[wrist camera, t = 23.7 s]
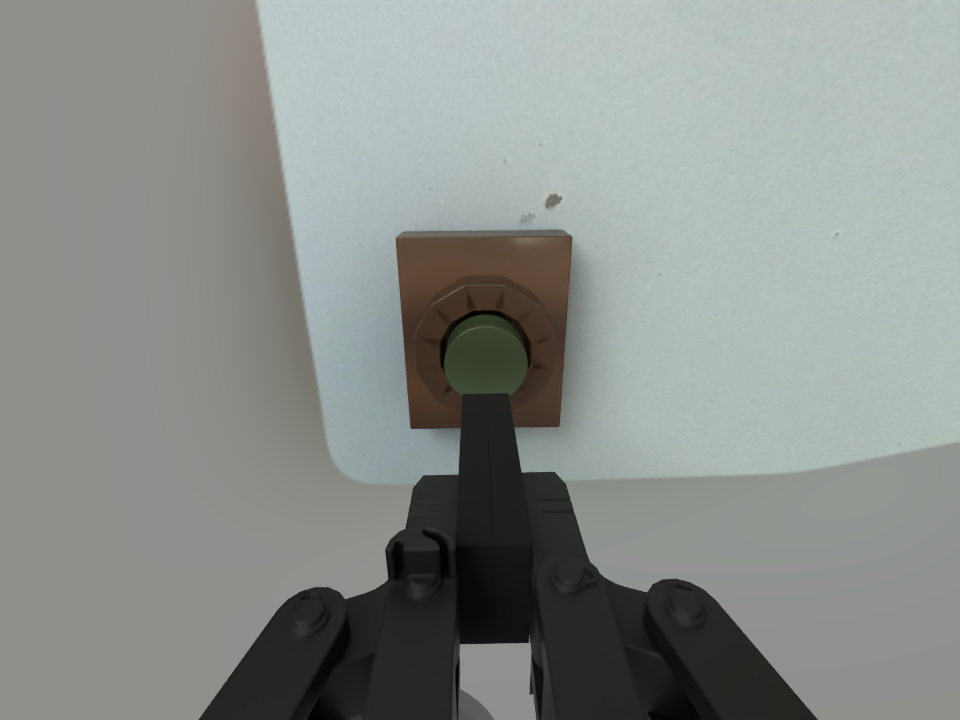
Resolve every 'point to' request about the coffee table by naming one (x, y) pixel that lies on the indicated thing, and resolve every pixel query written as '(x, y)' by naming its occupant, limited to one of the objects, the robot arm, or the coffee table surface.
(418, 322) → the button block
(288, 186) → the coffee table surface
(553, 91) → the coffee table surface
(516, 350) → the button
